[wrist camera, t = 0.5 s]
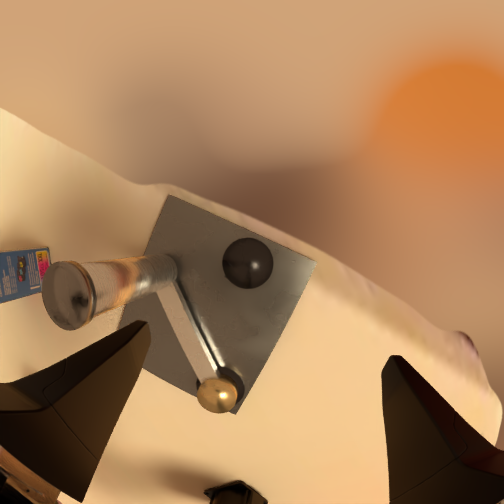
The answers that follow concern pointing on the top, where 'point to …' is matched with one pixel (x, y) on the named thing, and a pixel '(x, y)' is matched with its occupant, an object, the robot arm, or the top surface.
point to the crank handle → (127, 290)
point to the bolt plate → (220, 296)
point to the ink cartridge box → (22, 272)
